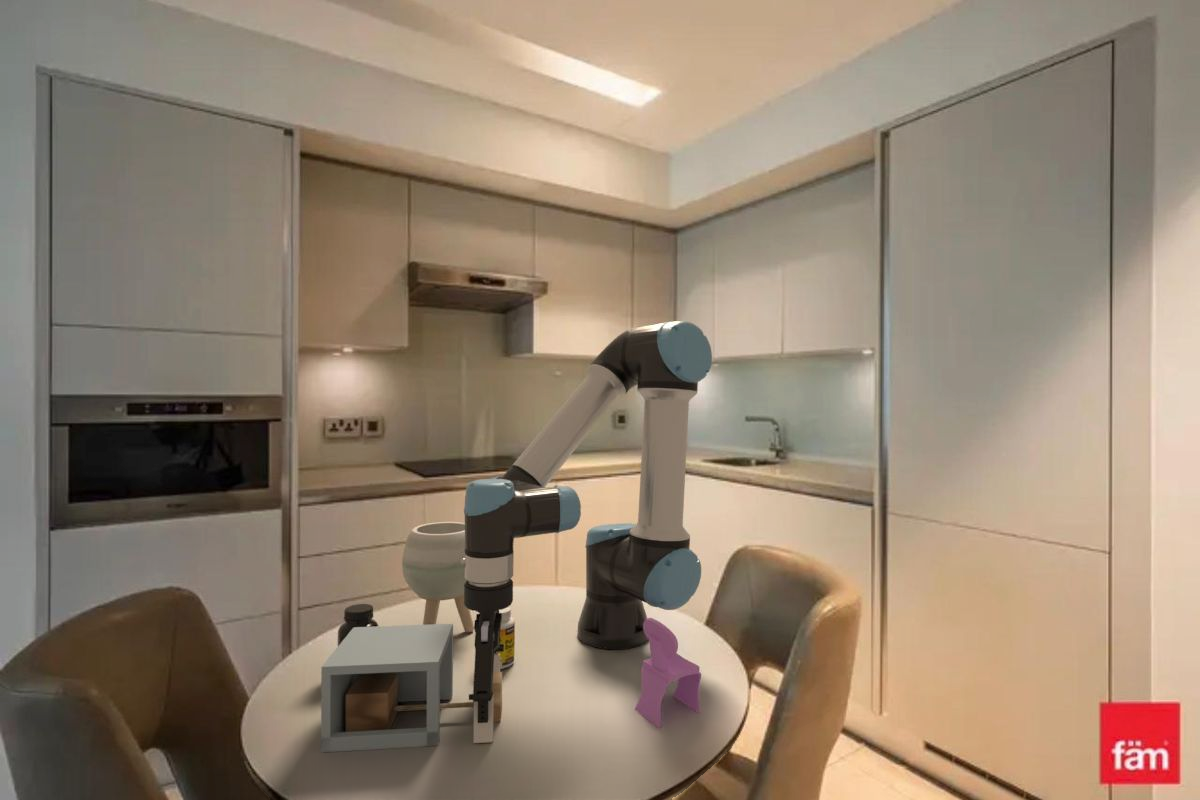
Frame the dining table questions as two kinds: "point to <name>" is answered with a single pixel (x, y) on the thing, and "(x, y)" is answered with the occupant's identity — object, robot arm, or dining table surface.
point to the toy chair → (665, 673)
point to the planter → (437, 568)
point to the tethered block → (394, 702)
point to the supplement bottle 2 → (507, 638)
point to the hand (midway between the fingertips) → (487, 715)
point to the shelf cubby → (388, 650)
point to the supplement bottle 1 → (356, 619)
